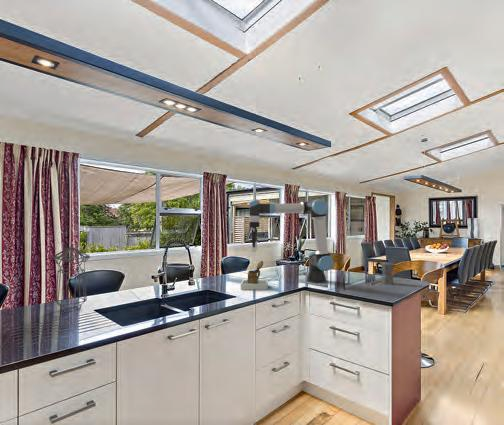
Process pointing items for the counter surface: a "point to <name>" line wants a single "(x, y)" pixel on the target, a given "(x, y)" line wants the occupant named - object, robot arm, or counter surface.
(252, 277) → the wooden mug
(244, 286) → the mug holder
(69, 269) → the geometric lantern
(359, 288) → the counter surface
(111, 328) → the counter surface
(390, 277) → the coffeepot
